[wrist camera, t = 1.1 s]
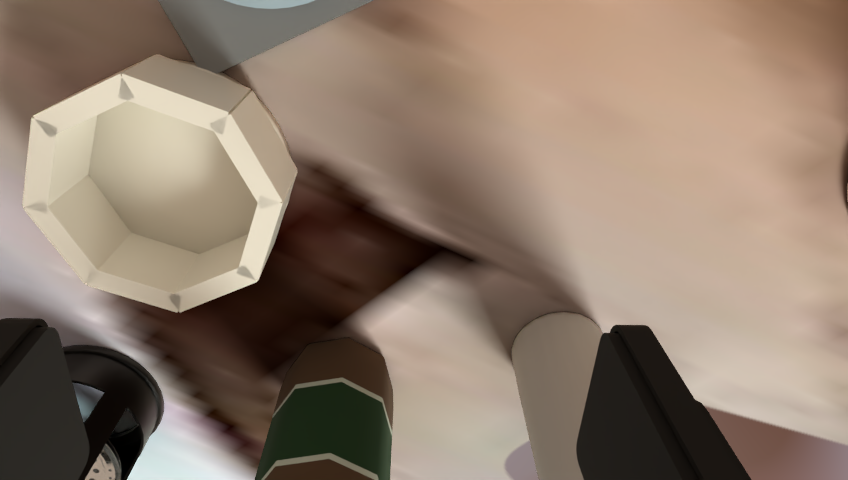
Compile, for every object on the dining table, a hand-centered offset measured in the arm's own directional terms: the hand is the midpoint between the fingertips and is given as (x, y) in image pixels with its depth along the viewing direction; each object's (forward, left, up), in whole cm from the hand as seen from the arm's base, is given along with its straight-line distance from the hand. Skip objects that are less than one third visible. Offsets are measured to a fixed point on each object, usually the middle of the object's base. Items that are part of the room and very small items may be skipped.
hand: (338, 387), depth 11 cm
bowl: (+14, +1, -26) cm, 30 cm away
